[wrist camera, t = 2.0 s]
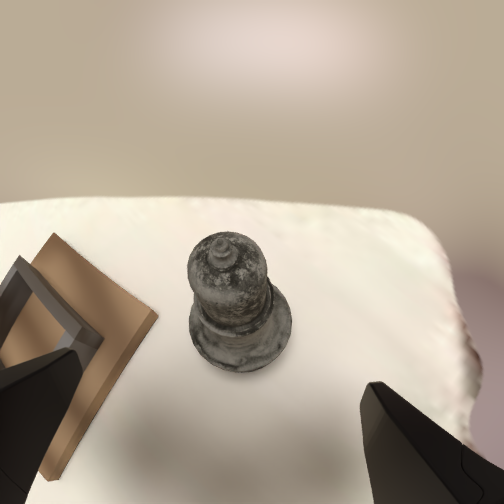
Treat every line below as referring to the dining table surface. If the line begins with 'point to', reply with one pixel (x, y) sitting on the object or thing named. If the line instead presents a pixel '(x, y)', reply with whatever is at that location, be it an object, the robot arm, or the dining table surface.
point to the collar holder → (70, 332)
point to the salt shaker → (235, 304)
